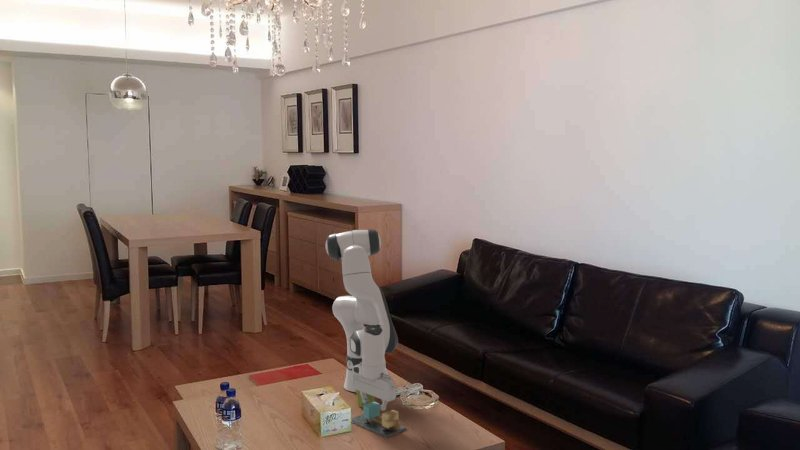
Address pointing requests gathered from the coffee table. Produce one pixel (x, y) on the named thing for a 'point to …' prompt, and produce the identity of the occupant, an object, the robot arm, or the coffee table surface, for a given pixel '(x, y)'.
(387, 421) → the wooden mallet
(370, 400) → the plant pot
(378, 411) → the block
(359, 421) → the steel plate
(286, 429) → the coffee table surface
